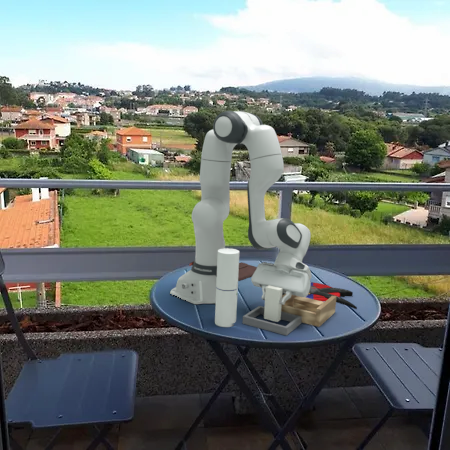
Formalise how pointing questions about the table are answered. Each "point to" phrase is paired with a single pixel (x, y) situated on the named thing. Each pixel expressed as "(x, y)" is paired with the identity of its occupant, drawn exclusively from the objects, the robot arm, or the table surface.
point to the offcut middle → (304, 307)
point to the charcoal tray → (284, 330)
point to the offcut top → (308, 302)
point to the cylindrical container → (226, 287)
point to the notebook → (245, 271)
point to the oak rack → (311, 317)
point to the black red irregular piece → (328, 293)
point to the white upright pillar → (273, 303)
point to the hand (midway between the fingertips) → (272, 301)
